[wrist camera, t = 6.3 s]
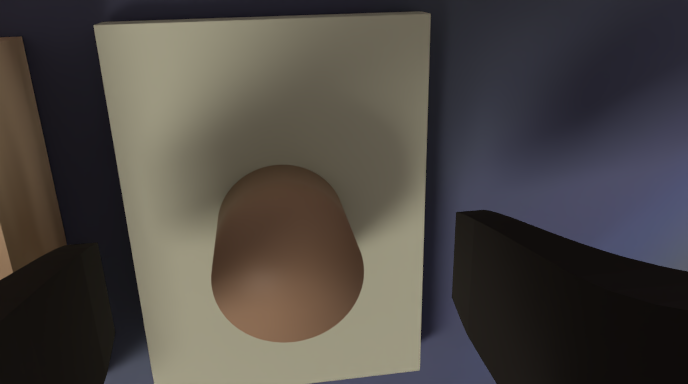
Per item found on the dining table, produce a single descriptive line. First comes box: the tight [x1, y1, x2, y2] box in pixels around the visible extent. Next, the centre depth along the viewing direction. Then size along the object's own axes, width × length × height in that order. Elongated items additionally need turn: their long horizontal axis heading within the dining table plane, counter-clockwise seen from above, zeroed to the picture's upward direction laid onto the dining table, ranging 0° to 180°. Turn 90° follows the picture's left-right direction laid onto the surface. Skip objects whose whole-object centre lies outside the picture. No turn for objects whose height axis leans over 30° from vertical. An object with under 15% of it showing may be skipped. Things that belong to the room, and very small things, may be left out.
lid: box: [93, 11, 431, 384], centre depth 13 cm, size 9×7×4 cm
